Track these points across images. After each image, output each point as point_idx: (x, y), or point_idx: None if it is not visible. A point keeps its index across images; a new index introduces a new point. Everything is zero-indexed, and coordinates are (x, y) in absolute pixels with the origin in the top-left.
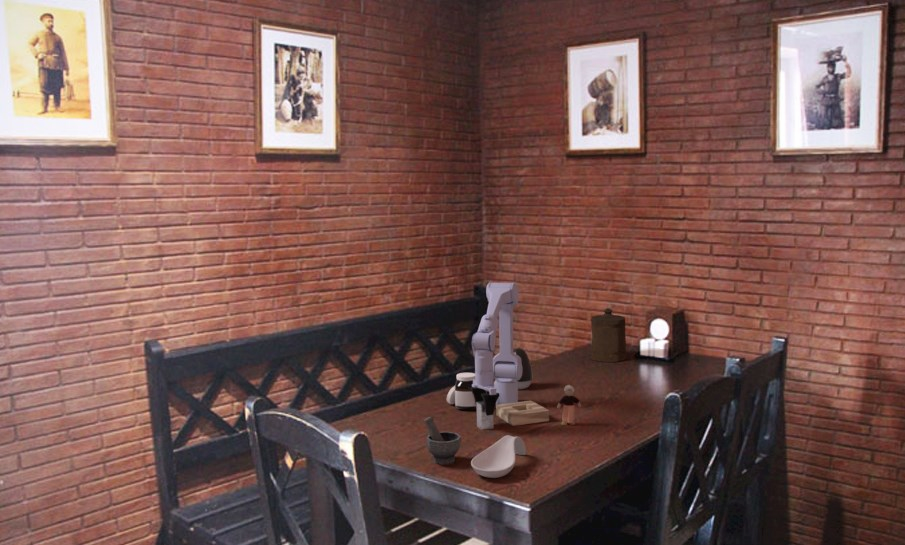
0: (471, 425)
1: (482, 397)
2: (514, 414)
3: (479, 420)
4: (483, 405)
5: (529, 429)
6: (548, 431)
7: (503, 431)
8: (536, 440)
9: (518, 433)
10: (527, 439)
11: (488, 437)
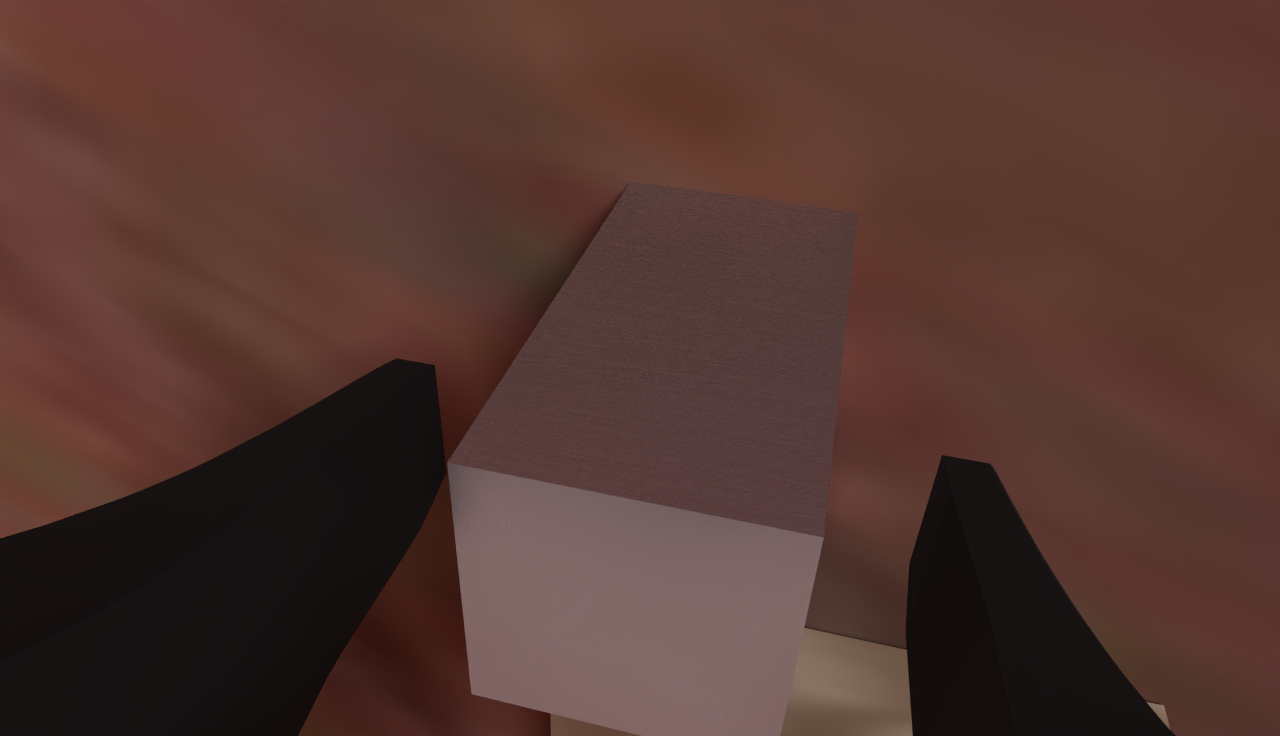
0: (976, 155)
1: (41, 607)
2: (574, 734)
3: (706, 260)
4: (462, 501)
5: (406, 621)
6: None
7: None
8: (44, 471)
9: None
10: (82, 427)
11: (226, 71)
